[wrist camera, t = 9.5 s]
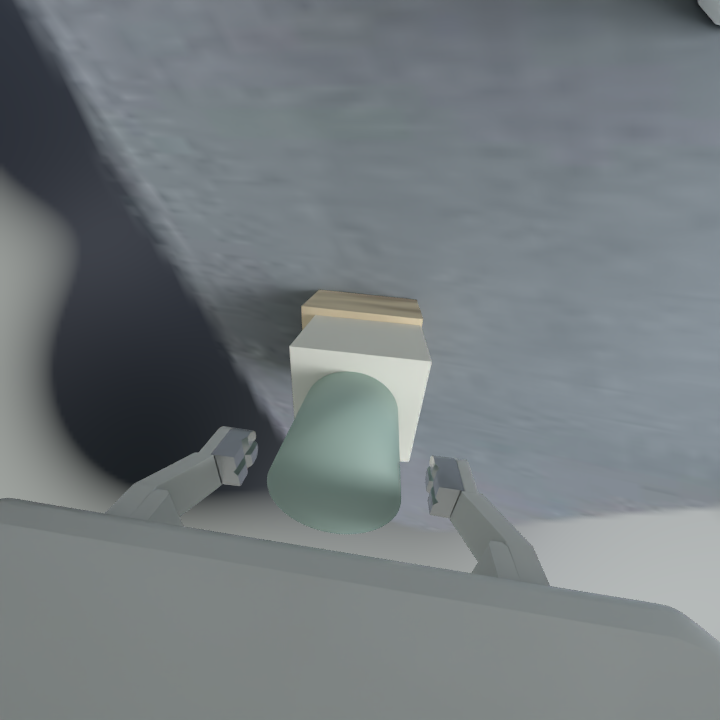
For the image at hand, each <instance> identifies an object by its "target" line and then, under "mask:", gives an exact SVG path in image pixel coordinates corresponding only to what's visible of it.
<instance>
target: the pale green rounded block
mask: <svg viewBox="0 0 720 720" xmlns="http://www.w3.org/2000/svg"><path fill="white" fill-rule="evenodd" d="M267 487H268V490H269V493H270V495H271V497H272V499H273V501H274V502H275V503H276V504H277V506H278V507H279V508H280V509H282V511H283V512H284V513H286V514H287V515H289V516H290V517H291V518H293V519H294V520H296V521H298V522H300V523H302V524H304V525H306V526H308V527H311V528H314V529H317V530H321V531H324V532H330V533H336V534H359V533H365V532H370V531H373V530H376V529H378V528H380V527H382V526H384V525H386V524H387V523H389V522H390V521H391V520H392V519H393V518H394V517H395V516H396V514H397V512H398V511H399V508H400V504H401V483H400V453H399V422H398V406H397V403H396V400H395V398H394V396H393V394H392V393H391V392H390V390H389V389H388V388H387V387H386V386H385V385H384V384H382V383H381V382H380V381H378V380H377V379H375V378H373V377H371V376H368V375H366V374H362V373H358V372H348V371H346V372H337V373H332V374H329V375H327V376H324V377H322V378H321V379H319V380H318V381H317V382H316V383H314V384H313V386H312V387H311V388H310V390H309V391H308V393H307V395H306V397H305V399H304V401H303V403H302V405H301V407H300V409H299V411H298V413H297V415H296V417H295V419H294V421H293V423H292V425H291V427H290V429H289V431H288V433H287V435H286V437H285V439H284V441H283V443H282V445H281V448H280V450H279V452H278V454H277V456H276V458H275V460H274V462H273V464H272V466H271V468H270V470H269V472H268V476H267Z"/></svg>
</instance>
